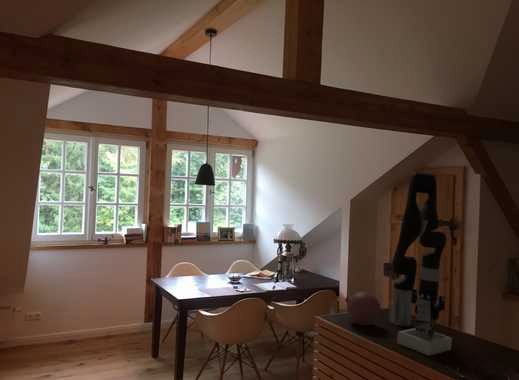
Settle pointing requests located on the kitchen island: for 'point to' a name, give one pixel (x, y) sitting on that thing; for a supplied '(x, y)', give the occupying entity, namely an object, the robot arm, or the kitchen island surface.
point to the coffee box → (425, 319)
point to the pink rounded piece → (363, 308)
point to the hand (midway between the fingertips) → (426, 317)
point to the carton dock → (424, 342)
